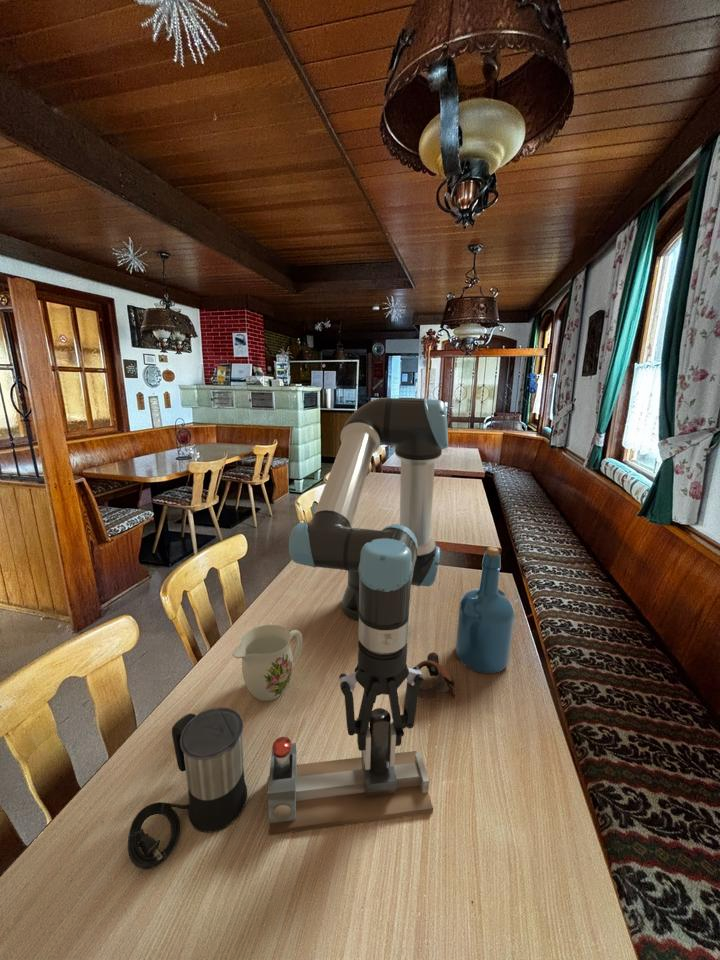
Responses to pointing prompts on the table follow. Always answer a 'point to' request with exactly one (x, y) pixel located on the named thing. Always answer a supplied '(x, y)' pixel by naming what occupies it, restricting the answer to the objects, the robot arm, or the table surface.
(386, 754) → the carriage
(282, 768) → the red ball knob
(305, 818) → the rail base
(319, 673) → the table surface
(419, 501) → the robot arm
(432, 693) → the broken pottery
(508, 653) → the wine bottle
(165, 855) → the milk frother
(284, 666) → the pitcher
